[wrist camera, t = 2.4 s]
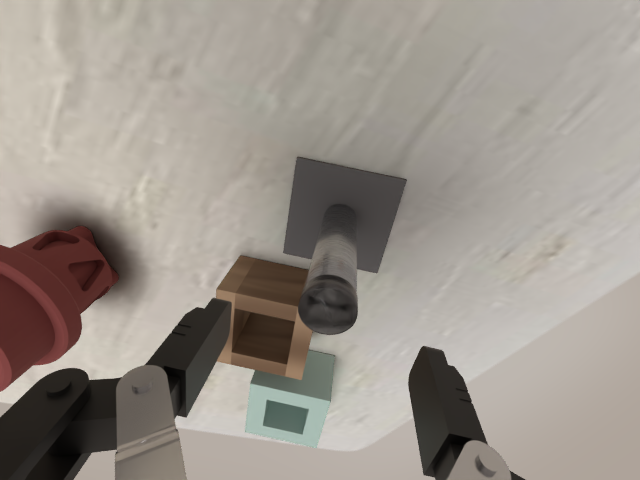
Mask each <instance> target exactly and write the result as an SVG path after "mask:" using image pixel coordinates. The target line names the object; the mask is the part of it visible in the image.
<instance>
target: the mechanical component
mask: <svg viewBox="0 0 640 480" xmlns="http://www.w3.org/2000/svg"><path fill="white" fill-rule="evenodd" d="M118 280H119V277H118V274H117V273H116V272H115V271H114V270H113V269H112V268H111V267H110V266H109V265H108V263H107V261H106V259H105V258H104V256H103V255H102V254H101V253H100V251H99V250H98V249H97V247H96V244H95V242H94V239H93V235H92V233H91V231H90V230H89V229H87V228H86V227H83V226H77V227H75V228H73V229H71V230H69V231H62V230H52V231H48V232H45V233H43V234H40V235H38V236H36V237H34V238H32V239H29V240H27V241H25V242H23V243H21V244H18V245H16V246H14V247H12V248H8V247H5V246H2V245H0V392H1V391H3V390H4V389H6V388H7V387H8V386H9V385H10V384H11V383H13V382H14V381H15V380H16V379H17V378H19V377H20V376H21V375H22V374H23V373H24V372H26V371H27V370H28V369H29V368H30V367H31V366H33V365H44V364H48V363H51V362H54V361H56V360H57V359H59V358H60V357H62V356H63V355H64V354H65V353H66V352H67V351H68V350H69V349H70V348H71V347H72V346H74V345H75V344H76V342H77V341H78V340H79V337H80V335H81V330H82V323H81V316H80V314H81V313H82V312H84V311H85V310H86V309H87V308H88V307H89V306H90V305H91V304H92V303H93V302H94V301H95V300H97V299H99V298H100V297H102V296H103V295H105V294H106V293H107V292H108V291H109V289H110V287H111V286H112V285H114V284H115V283H116V282H117V281H118Z"/></svg>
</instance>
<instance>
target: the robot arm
mask: <svg viewBox="0 0 640 480" xmlns="http://www.w3.org/2000/svg"><path fill="white" fill-rule="evenodd" d="M231 310H232V302H230V301H226V300H222V299H217V298H212V299H211V301H210V302H209V303H208V305H207V306H206V308H205V309H203V308H199V307H196V308H195V309H193V310H192V311H190V312H188V313H187V314H185V316H184V317H183V318H182V319H181V321H180V322H179V323H178V325H177V326H176V327H175V328H174V329H173V331H172V333H170V334H169V336H168V337H167V338H166V339H165V341H164V342H163V343H162V345H161V346H160V347H159V348H158V350H157V351H156V352H155V353H154V355H153V356H152V357H151V358H150V360H149V361H148V362H147V363H146V364H145V365H144V366H140V367H137V368H135V369H132V370H131V371H129V372H128V373H126V374H125V375H124V376H123V377H121V378H115V379H100V380H89V378H88V375H87V373H86V372H85V371H83V370H81V369H77V368H68V369H62V370H58V371H55V372H53V373H51V374H49V375H47V376H45V377H43V378H42V379H40V380H39V381H38V382H37V383H36V384H35V385H34V386H33V387H31V388H30V389H29V390H28V391H27V392H26V393H25V394H24V395H23V396H22V397H21V398H20V399H19V400H18V401H17V402H16V403H15V404H14V405H13V406H12V407H11V408H10V409H9V410H8V411H7V412H6V413H4V415H2V416H1V417H0V480H73V479H74V478H75V476H76V475H77V474H78V472H79V471H80V469H81V468H82V466H83V465H84V463H85V462H86V460H87V459H88V457H89V456H90V455H91V453H92V452H100V451H108V450H117V452H116V454H115V480H187V478H186V472H185V466H184V461H183V455H182V449H181V444H180V438H179V434H178V430H176V425H175V420H174V419H175V418H176V416H177V415H178V416H182V417H187V415H188V413H189V412H190V410H191V408H192V406H193V404H194V402H195V400H196V399H197V397H198V395H199V393H200V391H201V389H202V387H203V386H204V384H205V382H206V380H207V378H208V376H209V374H210V372H211V371H212V369H213V367H214V365H215V363H216V361H217V359H218V358H219V356H220V354H221V352H222V350H223V348H224V346H225V344H226V342H227V340H228V337H229V333H230V324H231ZM408 385H409V392H410V398H411V404H412V410H413V416H414V421H415V427H416V433H417V439H418V445H419V451H420V456H421V462H422V468H423V474H424V475H426V476H431V477H435V479H436V480H525V479H523V478H521V477H520V476H518V475H516V474H514V473H513V472H511V471H510V470H509V468H508V466H507V464H506V462H505V461H504V459H503V458H502V457H501V456H500V454H499V453H498V452H497V451H495V450H494V449H493V448H492V447H490V446H489V445H488V444H487V441H486V438H485V436H484V433H483V430H482V428H481V425H480V422H479V420H478V417H477V414H476V411H475V409H474V406H473V404H472V403H471V398H470V395H469V393H468V390H467V387H466V384H465V382H464V379H463V377H462V376H461V375H460V374H459V372H458V371H457V370H456V368H455V367H454V366H450V365H448V363H447V360H446V357H445V354H444V352H443V351H442V350H439V349H435V348H430V347H426V346H422V347H421V349H420V351H419V353H418V356H417V358H416V360H415V362H414V364H413V367H412V369H411V371H410V374H409V382H408Z"/></svg>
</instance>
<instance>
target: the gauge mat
mask: <svg viewBox="0 0 640 480" xmlns="http://www.w3.org/2000/svg"><path fill="white" fill-rule="evenodd" d="M406 181H407V180H406V179H402V178H397V177H392V176H387V175H383V174H378V173H373V172H368V171H363V170H358V169H354V168H349V167H344V166H339V165H334V164H329V163H325V162H320V161H315V160H310V159H305V158H301V157H297V160H296V167H295V174H294V181H293V188H292V195H291V202H290V209H289V216H288V223H287V230H286V237H285V244H284V251H283V253H285V254H289V255H294V256H299V257H303V258H308V259H312V257H313V253H314V250H315V246H316V242H317V239H318V235H319V231H320V228H321V224H322V220H323V216H324V213H325V211H326V210H327V209H328V208H329V207H330V206H332V205H335V204H345V205H348V206H349V207H351V208H352V209H353V210H354V212H355V213H356V216H357V269H359V270H364V271H369V272H373V273H378V269H379V266H380V263H381V260H382V257H383V254H384V250H385V247H386V244H387V241H388V238H389V235H390V232H391V228H392V225H393V222H394V219H395V216H396V213H397V209H398V206H399V203H400V200H401V197H402V194H403V190H404V187H405V184H406Z"/></svg>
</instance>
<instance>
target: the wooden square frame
mask: <svg viewBox="0 0 640 480" xmlns="http://www.w3.org/2000/svg"><path fill="white" fill-rule="evenodd" d="M308 272H309V270H306V269H301V268H296V267H292V266H287V265H282V264H278V263H273V262H268V261H264V260H259V259H254V258H250V257H245V256H240V257H239V258H238V259H237V261H236V262H235V264H234V265H233V266H232V268H231V269H230V271H229V272H228V274H227V275H226V276H225V278H224V279H223V281H222V282H221V283H220V285H219V286H218V288H217V289H216V298H217V299H222V300H226V301H230V302H232V310H231V324H230V333H229V337H228V340H227V342H226V344H225V346H224V348H223V350H222V352H221V354H220V356H219V358H218V359H217V361H218V362H222V363H227V364H231V365H236V366H240V367H245V368H249V369H254V370H258V371H263V372H267V373H272V374H276V375H281V376H285V377H290V378H294V379H299V380H302V376H303V372H304V367H305V363H306V358H307V354H308V349H309V345H310V340H311V336H312V331H313V330H311V329H309V328H308V327H307V326H306V325H305V324H304V323H303V322H302V321H301V319H300V317H299V313H298V305H299V301H300V297H301V294H302V290H303V288H304V286H305V283H306V279H307V276H308ZM252 312H254V313H252ZM257 313H258V314H257ZM261 314H263V315H261ZM266 315H268V316H266ZM271 316H272V317H271ZM275 317H277V318H275ZM280 318H281V319H280ZM284 319H286V320H284ZM289 320H291V321H289ZM294 321H295V322H294Z"/></svg>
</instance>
